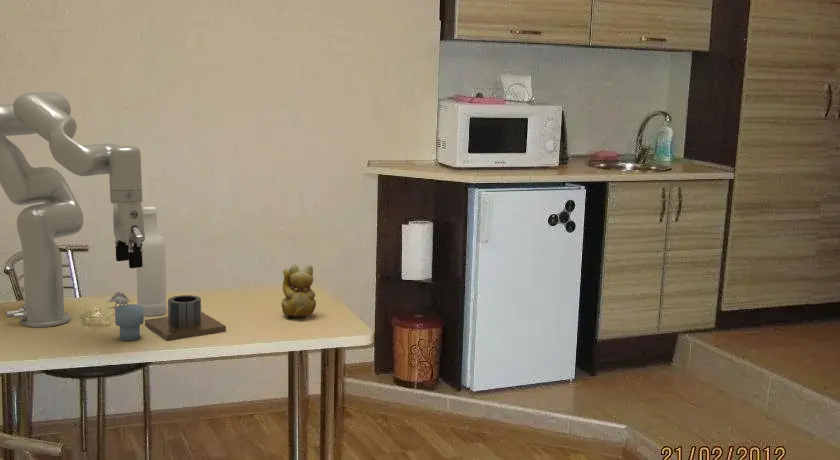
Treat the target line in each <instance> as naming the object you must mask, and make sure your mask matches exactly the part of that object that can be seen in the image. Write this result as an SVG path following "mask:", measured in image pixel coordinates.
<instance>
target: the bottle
mask: <svg viewBox="0 0 840 460" xmlns="http://www.w3.org/2000/svg"><path fill="white" fill-rule="evenodd" d="M142 212H143V220H144V231H145V241H144V242H142V263H143V266H142V267H139V268H136V294H137V295H136V298H137V299H136V300H137V301H136V305H141V306H143V316H144V317H157V316H161V315H165V314H166V313H167V312H168V311H167V310H168V300H167V272H166V271H167V269H166V267H167V266H166V264H167V263H166V262H167V261H166V243H165V240H164V238H163V236H162V235H161V233H159V232H158V218H157V217H158V216H157V215H158V211H157V207H156V206H144V207H142Z"/></svg>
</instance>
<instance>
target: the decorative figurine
mask: <svg viewBox="0 0 840 460" xmlns="http://www.w3.org/2000/svg"><path fill="white" fill-rule="evenodd" d="M282 273H283V282H282V292H283V294H284V298H282V300H281V308H282V309H281V310H282V313H283V315H286V316H287V320H305V319H306V317H307V316H309V315H312V314H314V311H315V309H316V306H317V301H316V299H315V297H316V293H315V291H314V290H313V289H312V287H311V286H312V285H313V282H314V276H313V274H314V267H313V265H312V264H308V265H306V266H305V267H304V270H303V269H300V267H299V265H297V264H295V263H292V264H291V265H290V268H285V269H283V270H282Z"/></svg>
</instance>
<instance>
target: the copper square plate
mask: <svg viewBox="0 0 840 460" xmlns="http://www.w3.org/2000/svg"><path fill="white" fill-rule="evenodd" d="M167 310H168V311H167V313H168V316H164V317H157V318H149V319H144V326H145V327H147V328H148V329H149V330H150V331H152V332H154V333H155V334H156V335H158V336H159V337H160V338H161V339H164V341H167V342H170V341H175V340H180V339H181V340H182V339H187V338H192V337H193V338H194V337H201V336H206V335H212V334H218V333H223V332H224V333H225V332H227V328H226V327H227V326H226V325H225V324H223V322H222V323H221V322H220V321H219V320H216V319H215V318H213V317H211V316H209V315H208V314H206V313H205V312H203V311H202V298H201V297H200V296H198V295H197V296H196V295H192V294H191V295H190V294H185V295H184V294H182V295H175V296H171V297H169V298H168V300H167Z"/></svg>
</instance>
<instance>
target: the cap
mask: <svg viewBox="0 0 840 460" xmlns="http://www.w3.org/2000/svg"><path fill="white" fill-rule="evenodd" d="M114 315H115V321H114V322H115V325H116V326H117V327H119V339H120V340H121V341H123V342H133V341H134V342H135V341H137V340H139V339H140V338H141V330H140V329H141V328H140V327H141V325H143V324H145V318H144V317H145V316H143V306H141V305H137V303H136V304H131V303H130V304H129V303H127V304H125V305H123V304H121V306H120V305H118V306H117V305H116V307H115V308H114Z"/></svg>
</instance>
